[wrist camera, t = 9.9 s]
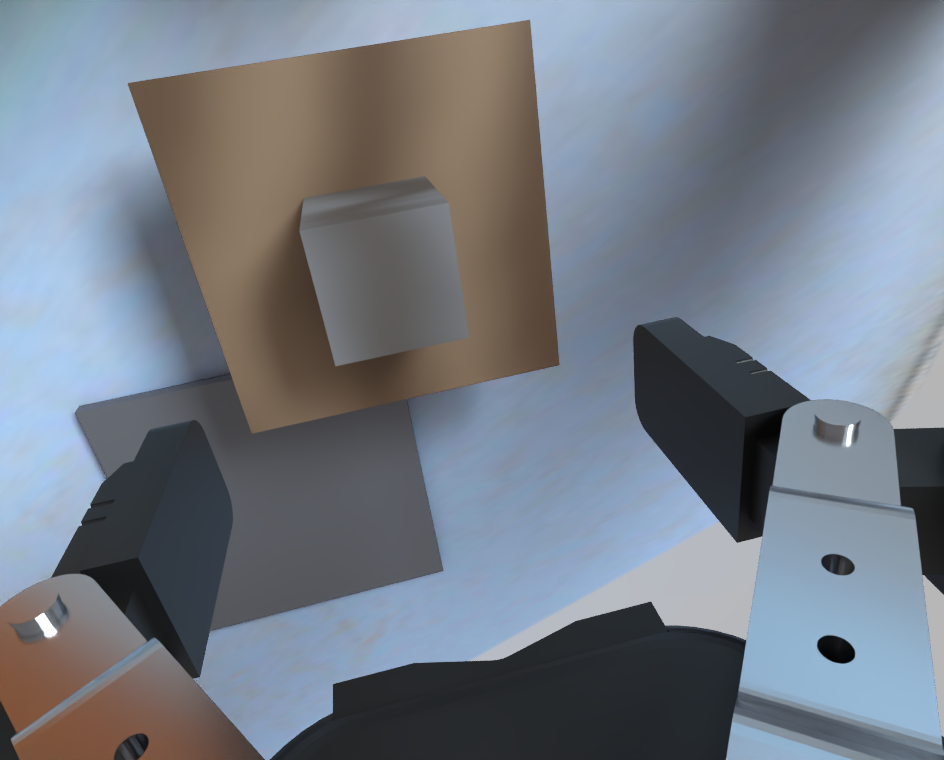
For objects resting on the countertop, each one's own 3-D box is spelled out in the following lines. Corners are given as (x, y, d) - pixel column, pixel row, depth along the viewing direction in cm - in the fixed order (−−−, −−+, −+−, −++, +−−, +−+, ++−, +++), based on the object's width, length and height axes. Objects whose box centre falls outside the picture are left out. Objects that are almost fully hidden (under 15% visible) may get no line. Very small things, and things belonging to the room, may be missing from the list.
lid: (521, 21, 21) (581, 11, 16) (551, 354, 26) (602, 421, 22) (136, 82, 19) (75, 90, 15) (254, 420, 25) (238, 507, 20)
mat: (393, 339, 30) (394, 344, 30) (441, 563, 37) (443, 570, 36) (79, 406, 29) (74, 412, 28) (188, 628, 35) (186, 636, 35)
